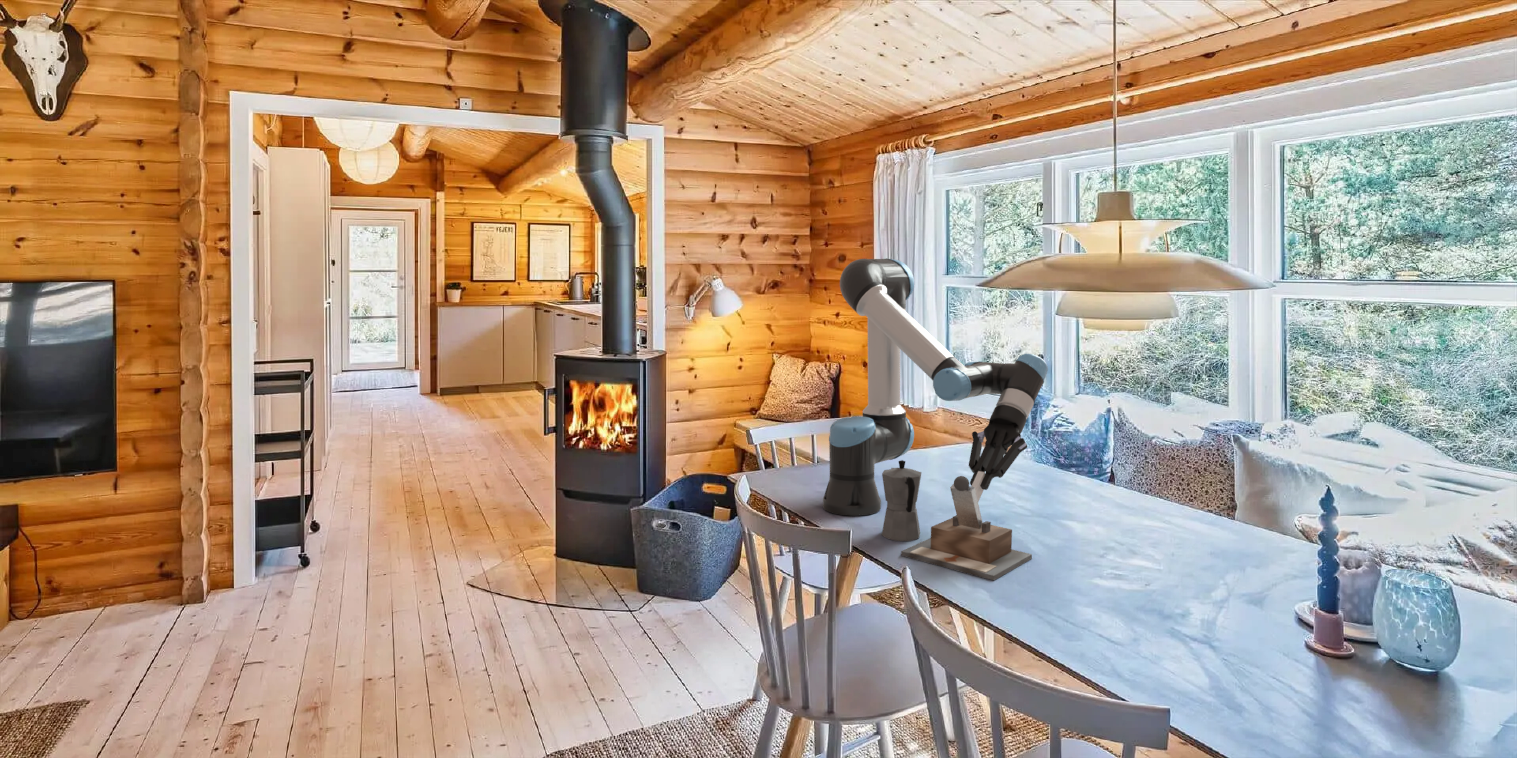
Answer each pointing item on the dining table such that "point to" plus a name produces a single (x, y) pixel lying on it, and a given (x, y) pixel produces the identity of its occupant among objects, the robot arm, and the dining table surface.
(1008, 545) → the switch unit
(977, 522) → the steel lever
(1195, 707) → the dining table surface
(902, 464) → the coffeepot
